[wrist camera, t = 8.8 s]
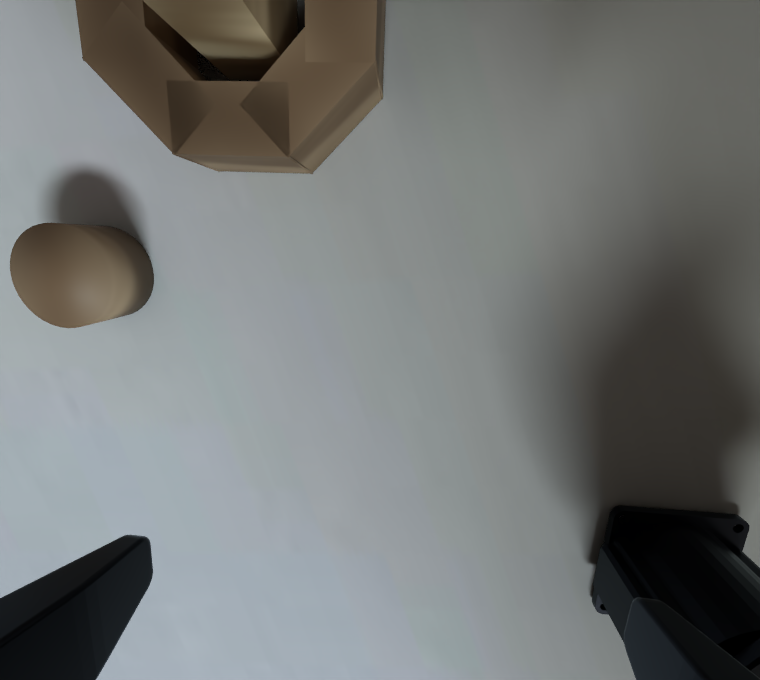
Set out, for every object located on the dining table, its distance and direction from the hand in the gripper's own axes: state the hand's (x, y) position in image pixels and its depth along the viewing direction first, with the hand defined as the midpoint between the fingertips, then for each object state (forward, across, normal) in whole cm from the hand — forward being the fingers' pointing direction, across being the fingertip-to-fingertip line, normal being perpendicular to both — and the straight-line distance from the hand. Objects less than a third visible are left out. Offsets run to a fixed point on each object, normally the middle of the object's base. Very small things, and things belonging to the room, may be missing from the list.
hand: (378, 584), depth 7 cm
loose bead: (+12, +15, -4) cm, 20 cm away
